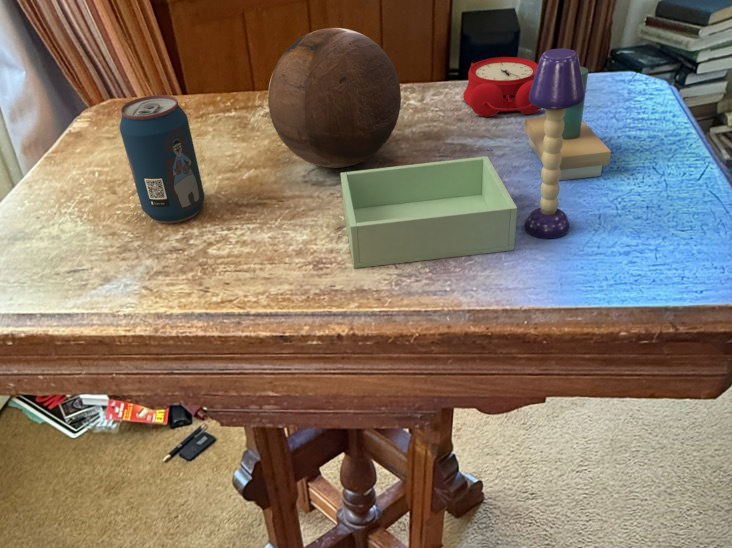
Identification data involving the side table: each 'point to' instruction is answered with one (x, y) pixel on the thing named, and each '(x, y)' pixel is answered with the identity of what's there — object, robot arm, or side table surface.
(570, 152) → the brush
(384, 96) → the wooden sphere
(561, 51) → the toy lamp
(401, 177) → the tub
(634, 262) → the side table surface
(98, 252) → the side table surface
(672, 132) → the side table surface
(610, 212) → the side table surface
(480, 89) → the alarm clock
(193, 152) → the soda can
